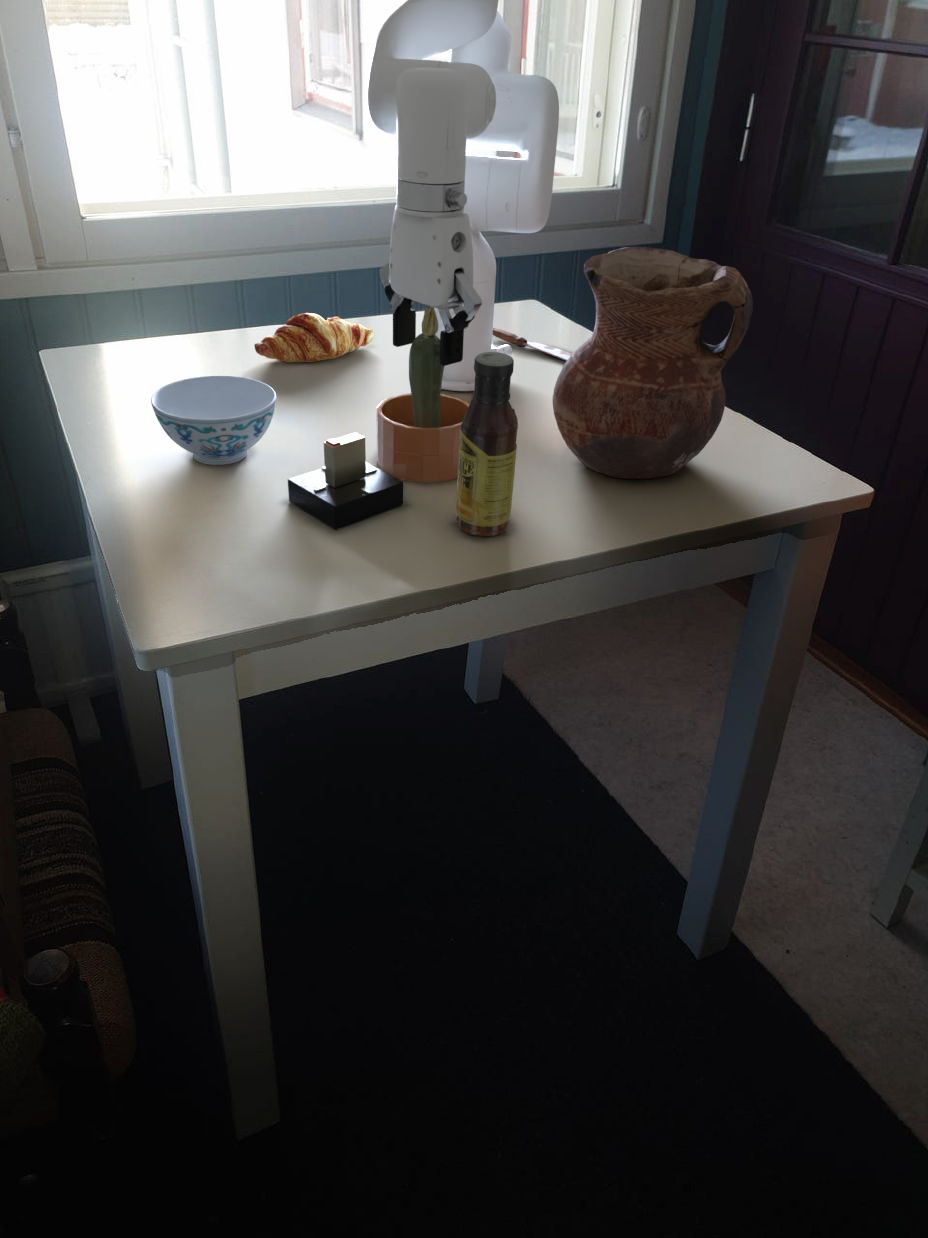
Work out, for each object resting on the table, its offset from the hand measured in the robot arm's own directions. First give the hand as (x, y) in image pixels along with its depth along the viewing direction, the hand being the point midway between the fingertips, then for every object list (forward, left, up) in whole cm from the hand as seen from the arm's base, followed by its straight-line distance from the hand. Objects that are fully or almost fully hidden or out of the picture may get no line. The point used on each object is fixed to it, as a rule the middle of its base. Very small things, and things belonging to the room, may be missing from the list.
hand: (427, 352), depth 116 cm
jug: (-22, +16, -14) cm, 31 cm away
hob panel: (+15, +3, -14) cm, 21 cm away
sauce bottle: (+7, +17, -14) cm, 24 cm away
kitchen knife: (-46, -22, -14) cm, 52 cm away
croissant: (-14, -42, -14) cm, 47 cm away
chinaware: (+19, -18, -14) cm, 30 cm away
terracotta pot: (0, 0, -14) cm, 14 cm away
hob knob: (+15, +3, -11) cm, 19 cm away
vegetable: (0, 0, -14) cm, 14 cm away
